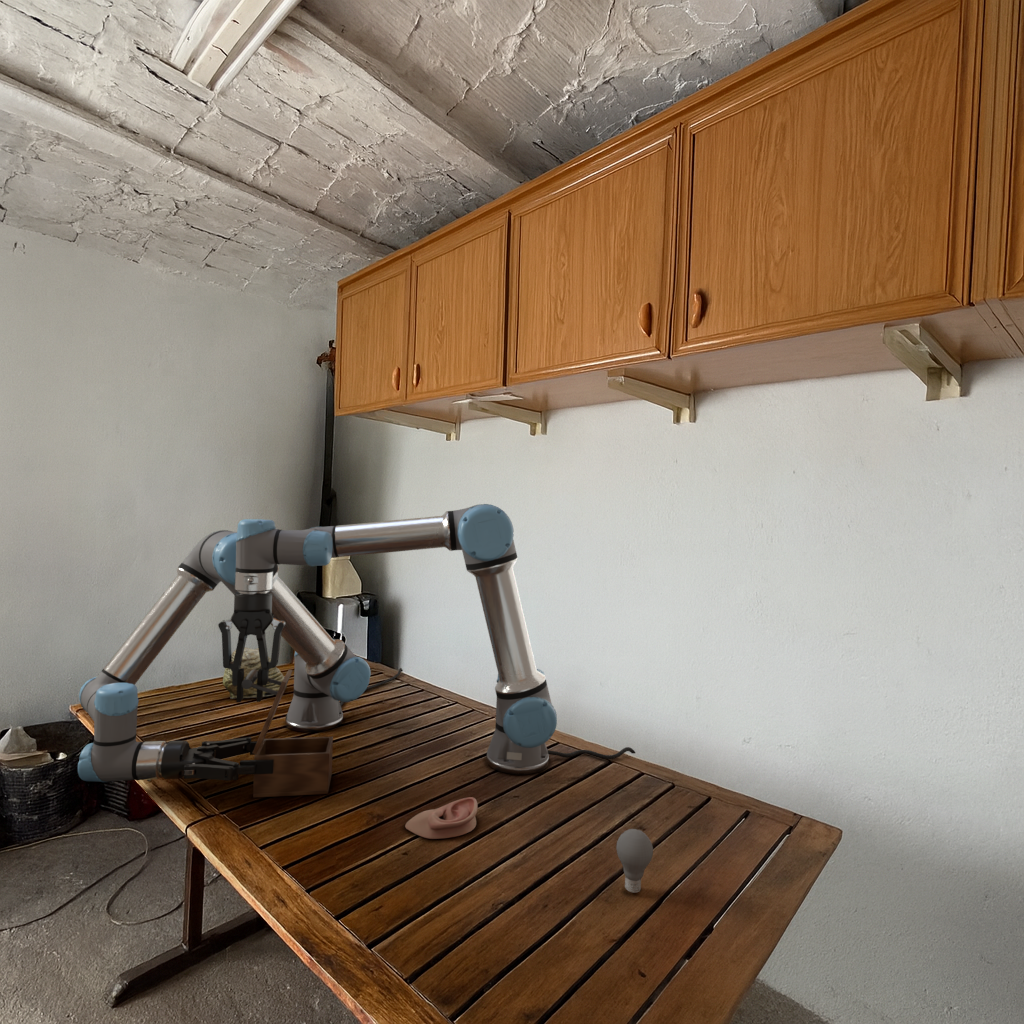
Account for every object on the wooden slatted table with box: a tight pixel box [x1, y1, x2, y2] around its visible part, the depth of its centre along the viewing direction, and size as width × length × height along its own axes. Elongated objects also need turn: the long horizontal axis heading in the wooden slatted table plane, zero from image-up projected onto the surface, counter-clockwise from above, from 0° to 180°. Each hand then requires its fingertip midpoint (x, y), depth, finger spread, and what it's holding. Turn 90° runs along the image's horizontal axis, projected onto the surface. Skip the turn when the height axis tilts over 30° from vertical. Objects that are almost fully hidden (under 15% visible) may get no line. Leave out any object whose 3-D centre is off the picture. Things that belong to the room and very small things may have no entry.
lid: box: [242, 668, 293, 754], centre depth 136 cm, size 16×10×8 cm
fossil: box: [222, 646, 288, 699], centre depth 198 cm, size 9×18×15 cm, turn 132°
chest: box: [252, 736, 334, 799], centre depth 138 cm, size 15×10×9 cm, turn 101°
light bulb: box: [615, 828, 654, 894], centre depth 106 cm, size 6×6×10 cm
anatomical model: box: [404, 796, 479, 840], centre depth 124 cm, size 13×4×12 cm
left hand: (277, 756), depth 137 cm, fingers closed on chest, 10 cm apart
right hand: (249, 699), depth 136 cm, fingers open, 3 cm apart
